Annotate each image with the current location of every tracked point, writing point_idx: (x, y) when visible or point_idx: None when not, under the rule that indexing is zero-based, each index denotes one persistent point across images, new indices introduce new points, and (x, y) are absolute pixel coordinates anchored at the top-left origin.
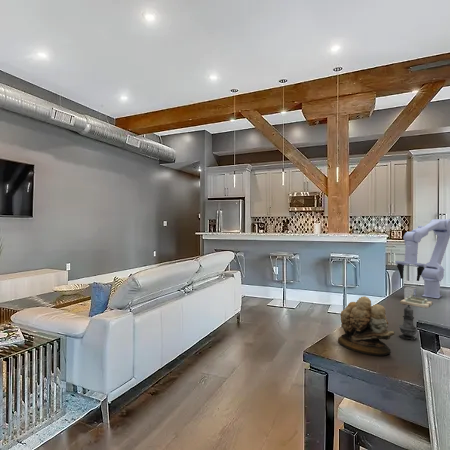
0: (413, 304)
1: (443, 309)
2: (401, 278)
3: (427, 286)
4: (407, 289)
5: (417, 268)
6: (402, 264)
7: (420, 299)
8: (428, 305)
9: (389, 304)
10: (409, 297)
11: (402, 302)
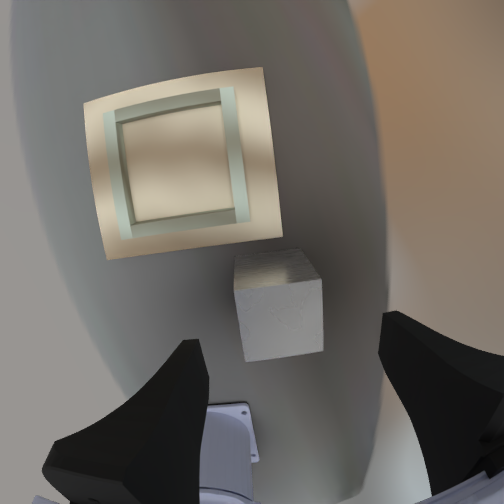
0: (169, 82)
1: (32, 163)
2: (389, 314)
3: (217, 457)
4: (291, 278)
5: (120, 463)
6: (485, 480)
7: (165, 218)
8: (86, 128)
9: (298, 4)
10: (232, 172)
11: (245, 70)
